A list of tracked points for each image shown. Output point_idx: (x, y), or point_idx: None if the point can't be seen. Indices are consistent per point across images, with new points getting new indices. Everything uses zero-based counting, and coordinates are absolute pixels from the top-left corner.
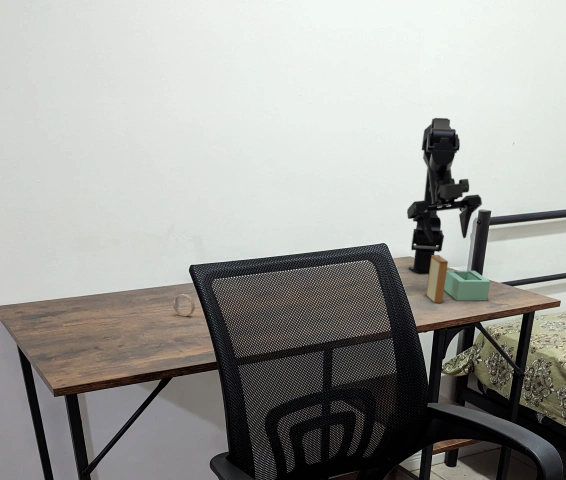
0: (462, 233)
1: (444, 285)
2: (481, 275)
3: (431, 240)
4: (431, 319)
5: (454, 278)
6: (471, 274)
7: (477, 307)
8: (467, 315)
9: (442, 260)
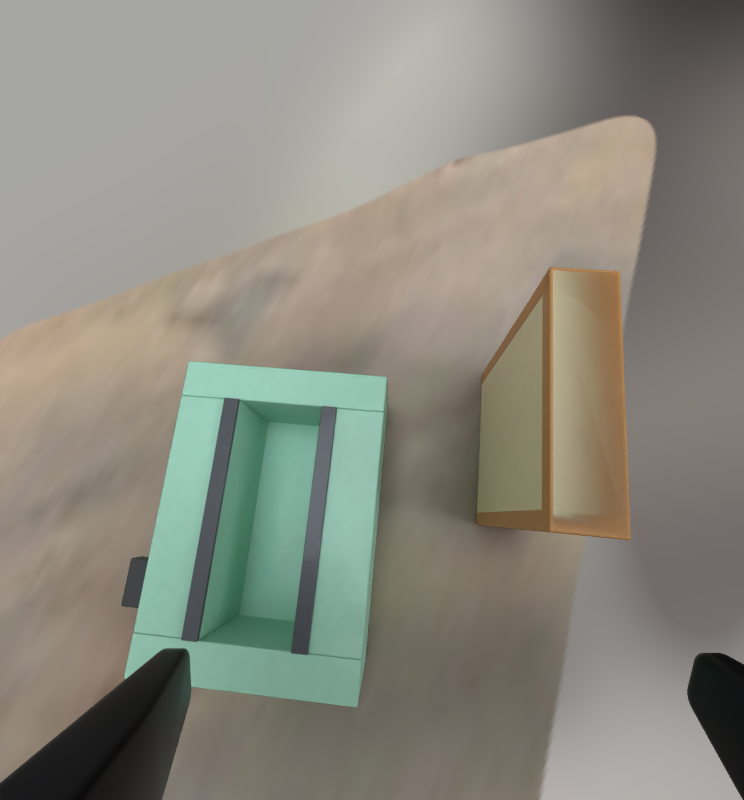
0: (160, 782)
1: (503, 341)
2: (156, 519)
3: (728, 658)
4: (617, 145)
5: (378, 478)
6: (213, 555)
7: (337, 286)
8: (439, 183)
9: (591, 299)
